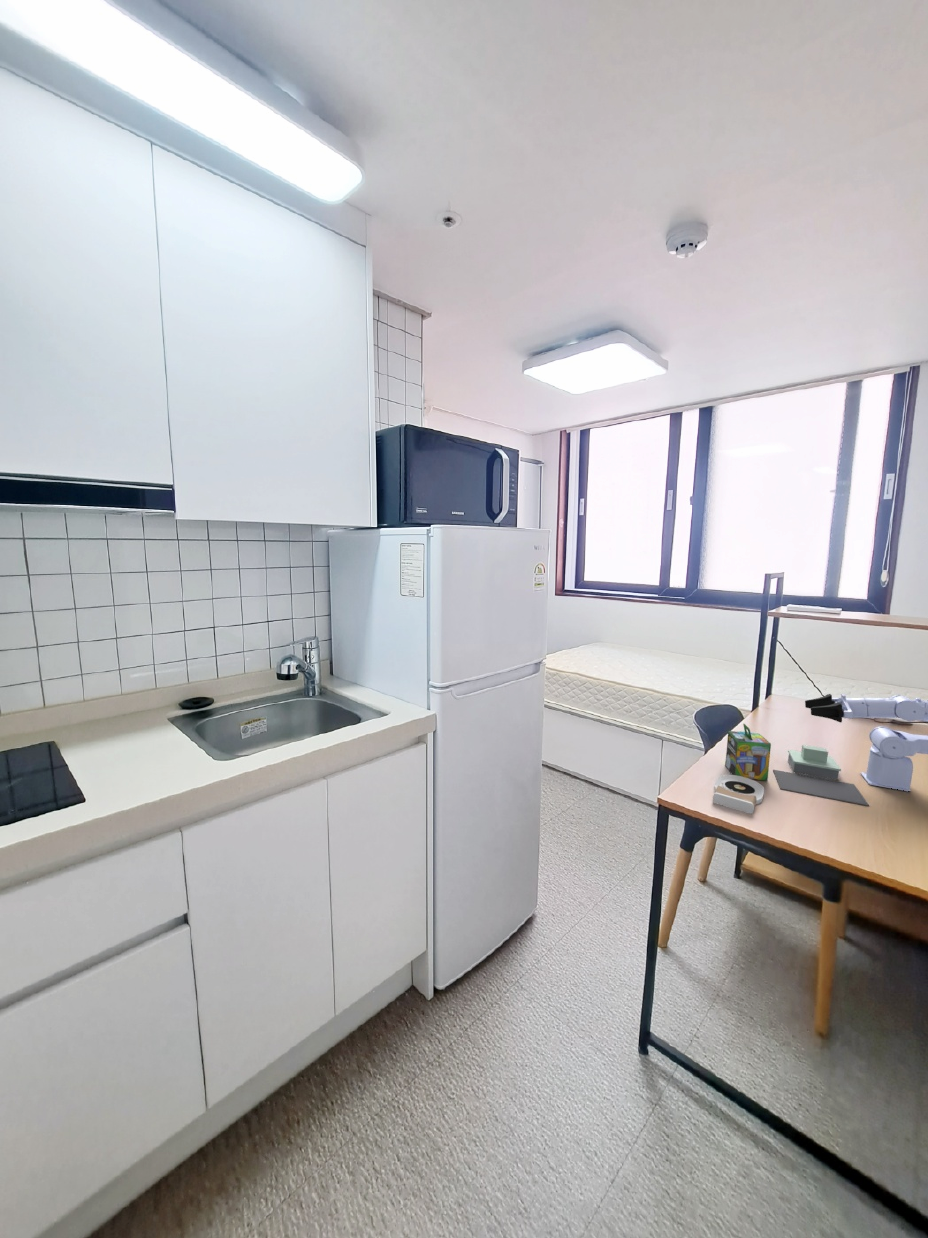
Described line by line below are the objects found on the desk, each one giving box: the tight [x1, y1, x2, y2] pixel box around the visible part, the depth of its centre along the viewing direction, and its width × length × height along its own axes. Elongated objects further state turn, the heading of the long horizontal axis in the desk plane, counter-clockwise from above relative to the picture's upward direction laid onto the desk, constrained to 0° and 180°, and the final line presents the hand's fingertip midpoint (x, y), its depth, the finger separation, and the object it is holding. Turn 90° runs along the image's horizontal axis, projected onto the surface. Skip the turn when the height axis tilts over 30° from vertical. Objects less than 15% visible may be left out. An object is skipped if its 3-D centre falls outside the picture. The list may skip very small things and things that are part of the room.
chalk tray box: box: [787, 753, 840, 781], centre depth 148 cm, size 11×9×4 cm
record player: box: [712, 774, 765, 815], centre depth 133 cm, size 12×3×20 cm
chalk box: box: [724, 723, 772, 781], centre depth 145 cm, size 9×9×15 cm
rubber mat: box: [772, 769, 870, 807], centre depth 138 cm, size 20×13×1 cm, turn 65°
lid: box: [787, 744, 842, 772], centre depth 148 cm, size 12×10×5 cm
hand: (808, 707), depth 147 cm, fingers open, 7 cm apart
